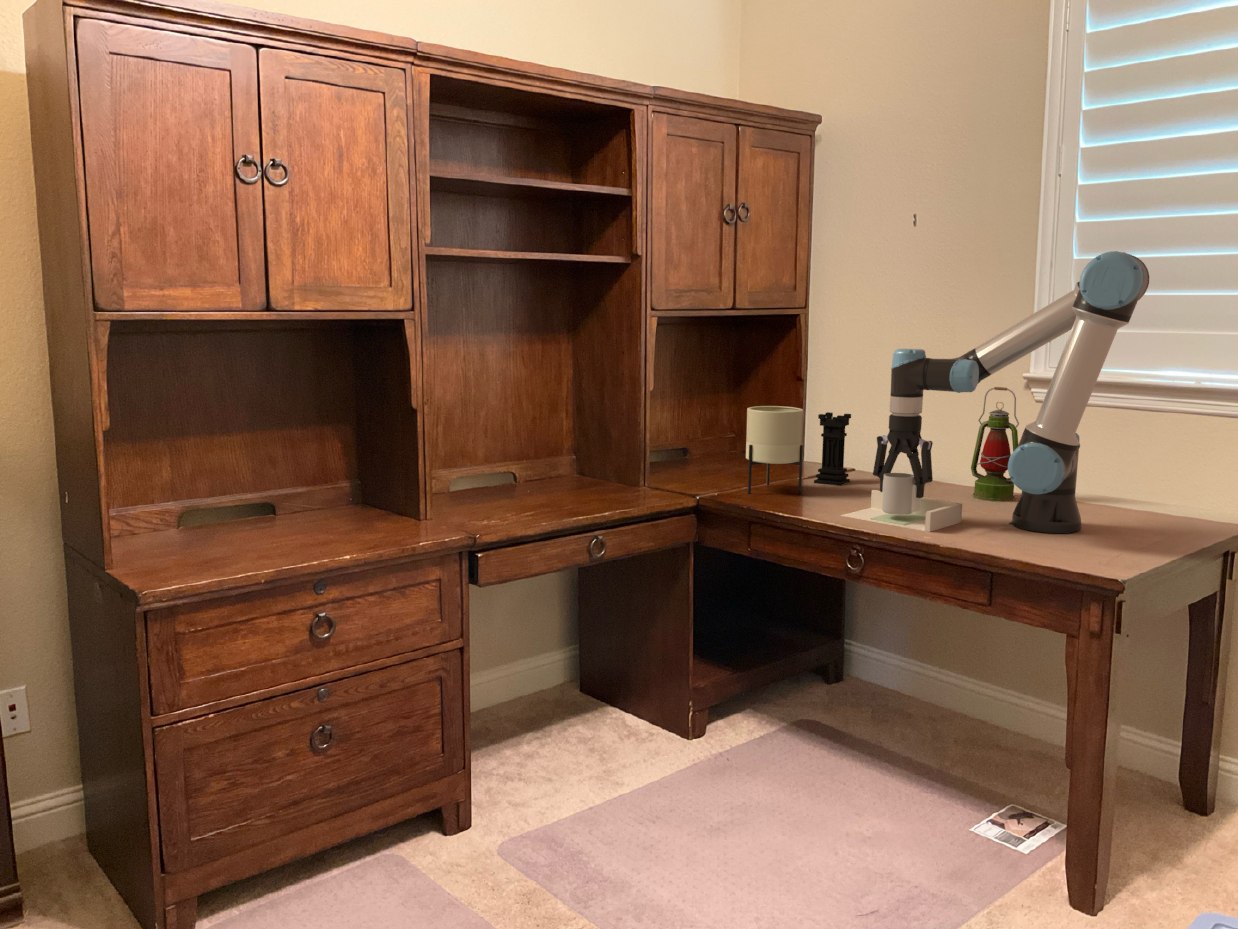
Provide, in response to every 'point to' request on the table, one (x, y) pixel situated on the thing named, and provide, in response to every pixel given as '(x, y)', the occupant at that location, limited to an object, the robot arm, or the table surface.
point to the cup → (897, 493)
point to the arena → (916, 513)
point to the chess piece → (833, 449)
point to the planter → (774, 438)
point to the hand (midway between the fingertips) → (900, 508)
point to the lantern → (995, 455)
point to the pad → (899, 518)
